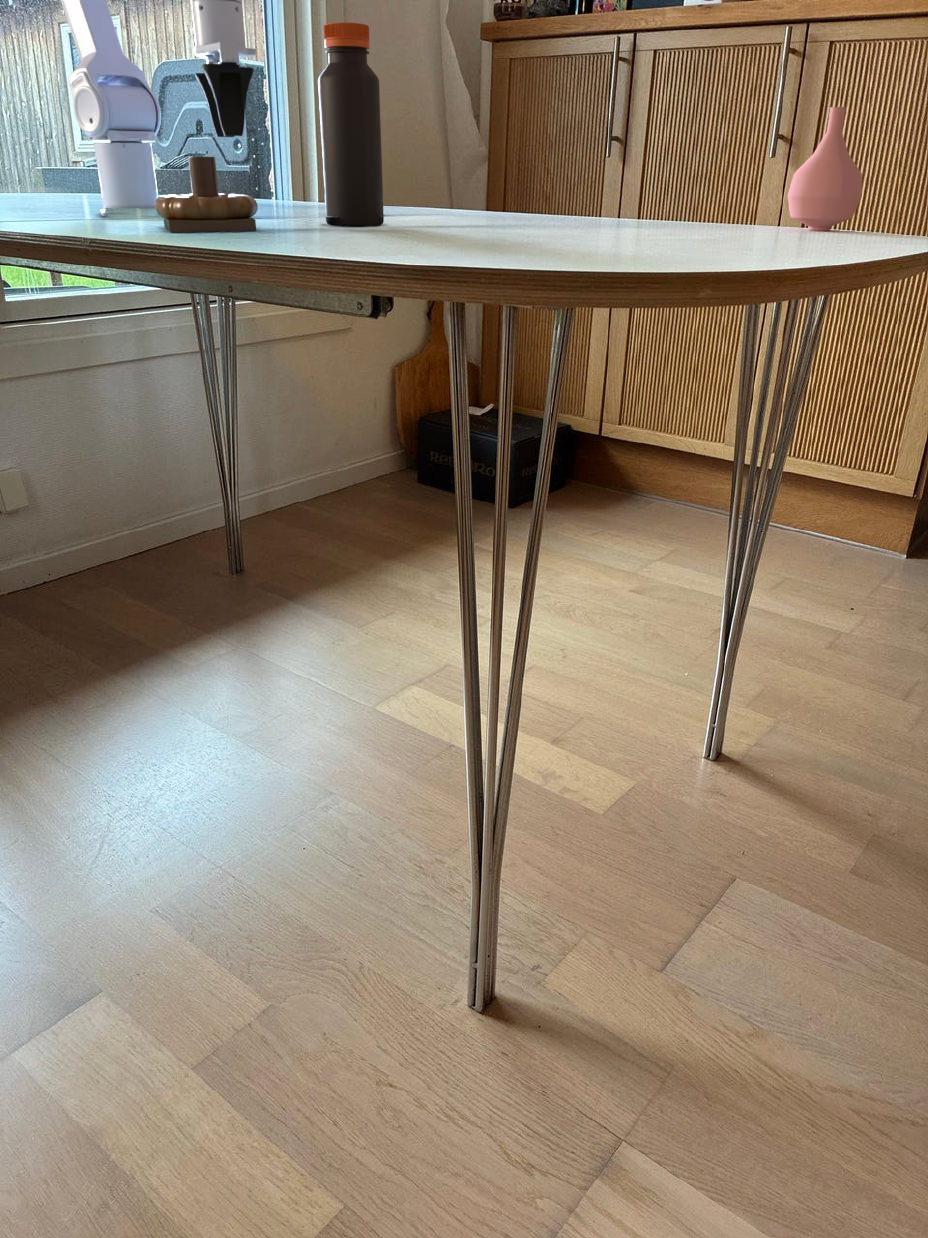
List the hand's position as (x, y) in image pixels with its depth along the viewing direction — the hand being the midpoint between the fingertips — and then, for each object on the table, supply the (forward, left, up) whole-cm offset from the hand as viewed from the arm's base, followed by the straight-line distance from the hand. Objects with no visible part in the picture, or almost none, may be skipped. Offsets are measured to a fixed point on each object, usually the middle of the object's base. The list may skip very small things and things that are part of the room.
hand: (229, 136), depth 114 cm
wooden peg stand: (+15, -5, -9) cm, 18 cm away
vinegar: (+13, +12, -10) cm, 20 cm away
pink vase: (+37, +59, -10) cm, 70 cm away
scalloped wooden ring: (+15, -5, -7) cm, 17 cm away
